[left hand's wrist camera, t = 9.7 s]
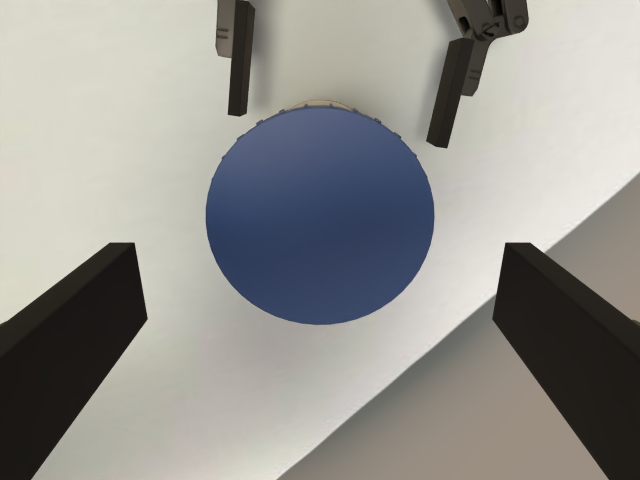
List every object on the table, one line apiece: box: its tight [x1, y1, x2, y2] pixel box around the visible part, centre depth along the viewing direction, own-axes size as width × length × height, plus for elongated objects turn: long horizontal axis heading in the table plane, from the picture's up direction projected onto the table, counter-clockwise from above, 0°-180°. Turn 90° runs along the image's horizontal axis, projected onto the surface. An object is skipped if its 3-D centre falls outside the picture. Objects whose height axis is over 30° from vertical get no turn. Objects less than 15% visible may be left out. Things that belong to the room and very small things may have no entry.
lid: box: [206, 104, 434, 325], centre depth 19 cm, size 10×10×2 cm
